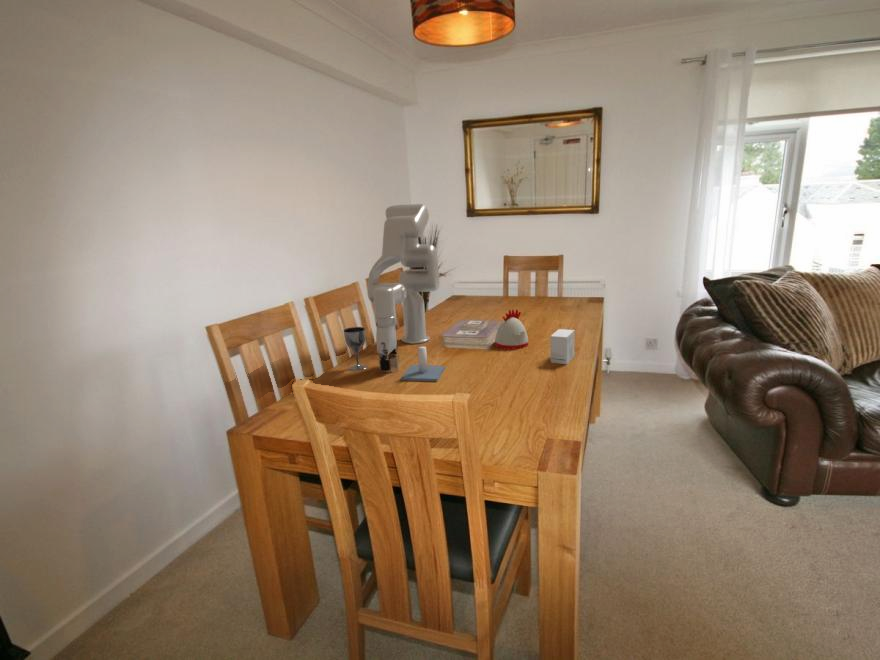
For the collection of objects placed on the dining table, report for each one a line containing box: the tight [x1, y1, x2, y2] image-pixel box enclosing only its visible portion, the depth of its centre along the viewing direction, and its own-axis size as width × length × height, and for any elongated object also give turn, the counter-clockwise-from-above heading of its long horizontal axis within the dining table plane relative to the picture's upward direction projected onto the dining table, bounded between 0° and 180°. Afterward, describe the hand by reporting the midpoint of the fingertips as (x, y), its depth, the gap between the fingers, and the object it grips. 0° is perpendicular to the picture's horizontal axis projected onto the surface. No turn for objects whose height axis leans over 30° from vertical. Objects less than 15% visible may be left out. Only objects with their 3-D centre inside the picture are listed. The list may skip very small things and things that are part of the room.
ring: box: [378, 353, 401, 374], centre depth 172 cm, size 7×7×5 cm
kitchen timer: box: [494, 308, 529, 350], centre depth 194 cm, size 14×14×15 cm
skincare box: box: [550, 328, 576, 365], centre depth 173 cm, size 10×6×10 cm, turn 149°
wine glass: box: [343, 326, 368, 372], centre depth 175 cm, size 8×8×15 cm
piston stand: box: [400, 346, 446, 382], centre depth 165 cm, size 13×13×10 cm
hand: (389, 365), depth 172 cm, fingers open, 9 cm apart
